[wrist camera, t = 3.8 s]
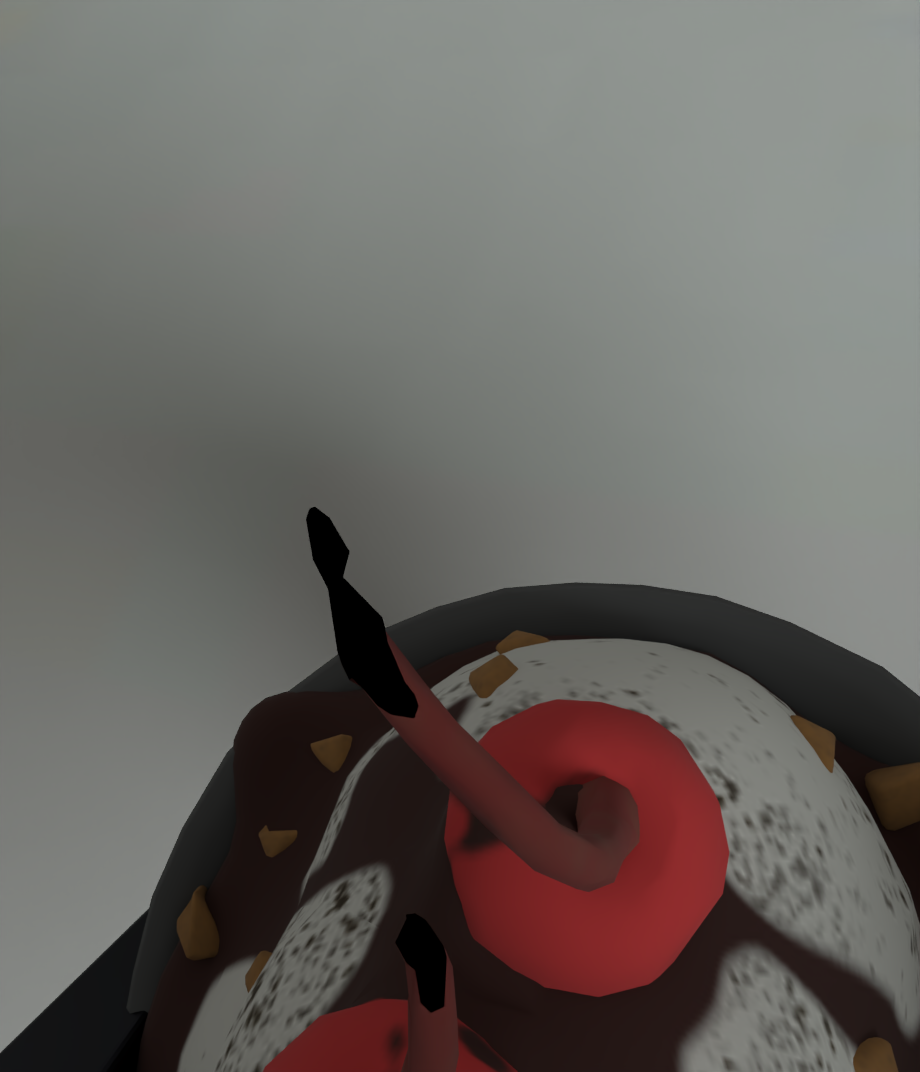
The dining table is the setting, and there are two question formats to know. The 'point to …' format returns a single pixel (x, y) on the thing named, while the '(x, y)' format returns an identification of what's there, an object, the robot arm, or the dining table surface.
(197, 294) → the dining table surface
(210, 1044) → the sundae
